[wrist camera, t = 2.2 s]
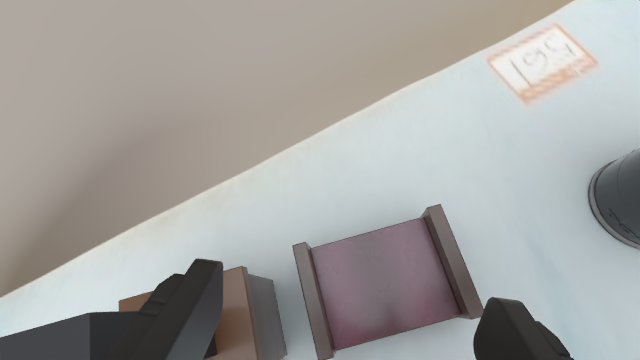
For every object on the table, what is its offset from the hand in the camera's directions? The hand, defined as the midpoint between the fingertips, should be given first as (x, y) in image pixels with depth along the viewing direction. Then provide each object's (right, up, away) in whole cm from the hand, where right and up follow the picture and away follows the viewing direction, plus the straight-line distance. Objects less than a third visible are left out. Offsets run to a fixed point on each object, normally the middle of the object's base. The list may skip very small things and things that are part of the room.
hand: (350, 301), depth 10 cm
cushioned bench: (+5, -7, +23) cm, 25 cm away
